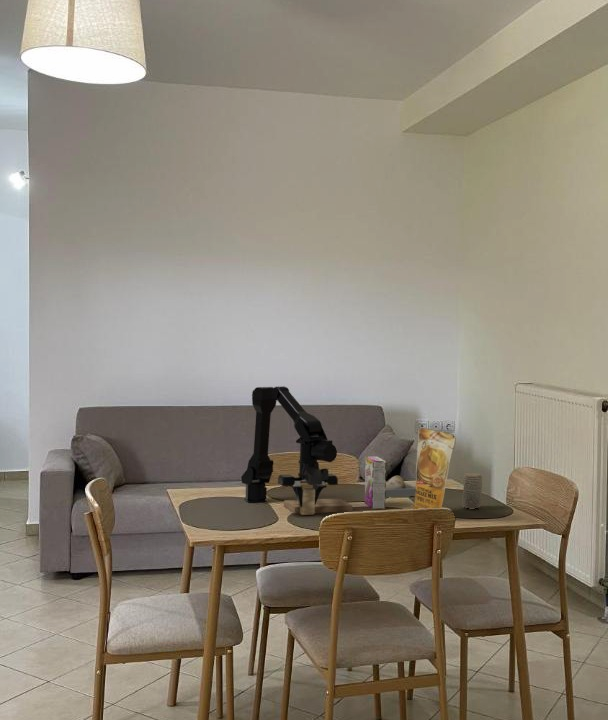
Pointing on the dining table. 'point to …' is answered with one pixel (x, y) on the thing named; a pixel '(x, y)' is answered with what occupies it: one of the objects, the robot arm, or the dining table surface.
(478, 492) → the carving
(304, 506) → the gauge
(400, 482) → the beige rock
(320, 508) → the board
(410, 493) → the mug coaster tray
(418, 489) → the pancake mix bag
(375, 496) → the candy bar box
